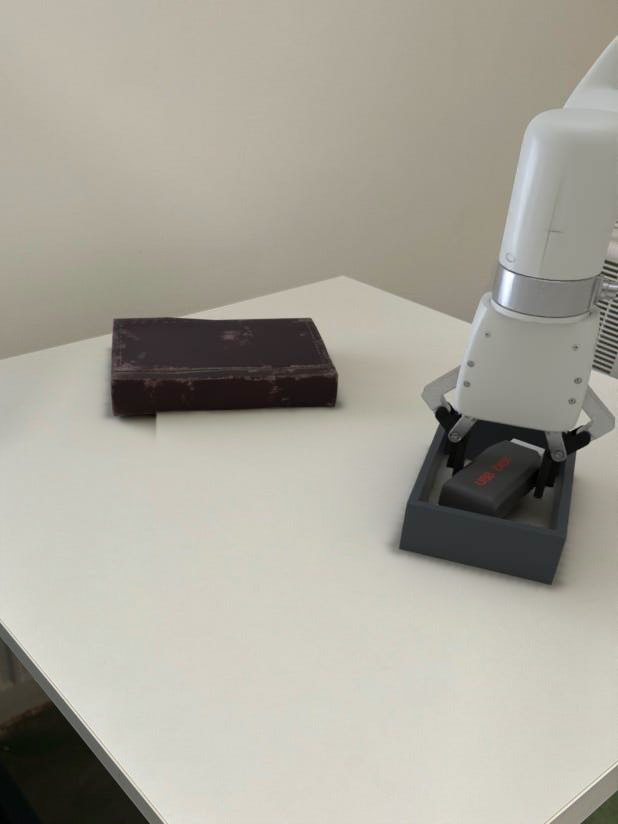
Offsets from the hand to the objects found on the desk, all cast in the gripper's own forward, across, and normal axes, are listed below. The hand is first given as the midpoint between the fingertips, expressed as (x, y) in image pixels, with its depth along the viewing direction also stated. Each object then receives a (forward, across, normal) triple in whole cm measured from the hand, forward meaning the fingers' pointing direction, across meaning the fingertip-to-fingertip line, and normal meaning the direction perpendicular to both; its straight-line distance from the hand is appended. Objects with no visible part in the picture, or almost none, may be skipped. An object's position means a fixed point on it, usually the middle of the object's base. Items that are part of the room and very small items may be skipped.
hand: (497, 481), depth 75 cm
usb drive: (+1, 0, 0) cm, 1 cm away
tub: (+4, 0, 0) cm, 4 cm away
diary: (+4, +34, -16) cm, 38 cm away
